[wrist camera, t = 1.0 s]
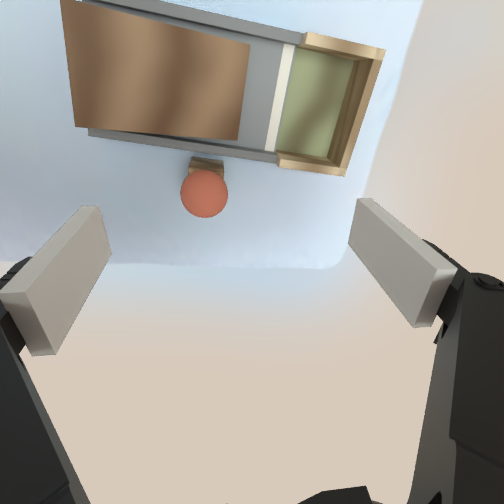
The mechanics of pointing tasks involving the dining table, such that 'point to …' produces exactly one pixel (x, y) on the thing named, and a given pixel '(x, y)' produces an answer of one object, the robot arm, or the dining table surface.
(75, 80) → the ramp
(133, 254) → the dining table surface
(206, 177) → the ball
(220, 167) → the hollow wooden block
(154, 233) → the dining table surface
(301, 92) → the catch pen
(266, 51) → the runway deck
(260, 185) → the dining table surface
